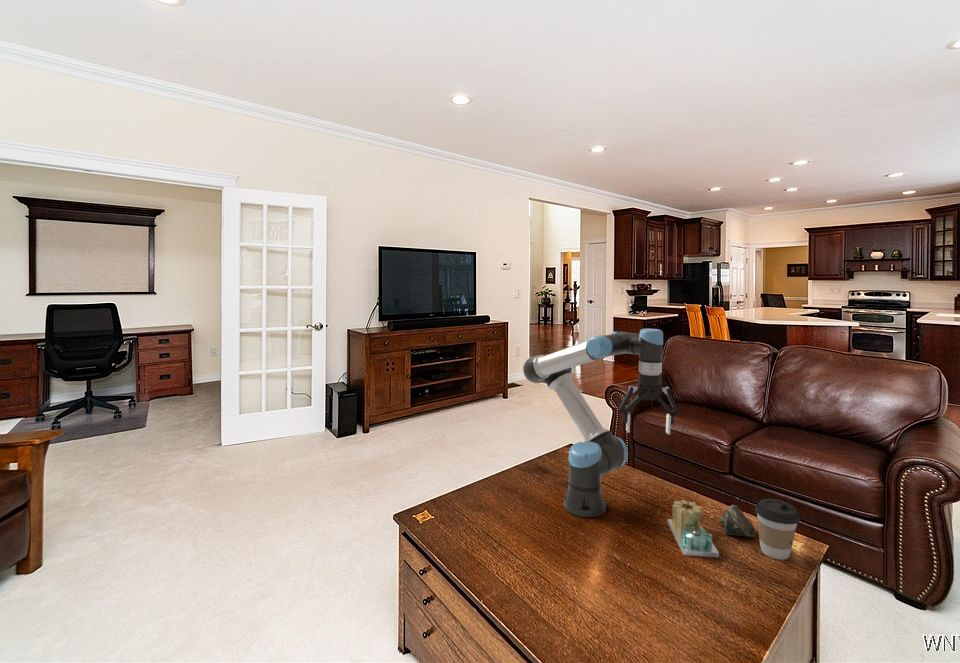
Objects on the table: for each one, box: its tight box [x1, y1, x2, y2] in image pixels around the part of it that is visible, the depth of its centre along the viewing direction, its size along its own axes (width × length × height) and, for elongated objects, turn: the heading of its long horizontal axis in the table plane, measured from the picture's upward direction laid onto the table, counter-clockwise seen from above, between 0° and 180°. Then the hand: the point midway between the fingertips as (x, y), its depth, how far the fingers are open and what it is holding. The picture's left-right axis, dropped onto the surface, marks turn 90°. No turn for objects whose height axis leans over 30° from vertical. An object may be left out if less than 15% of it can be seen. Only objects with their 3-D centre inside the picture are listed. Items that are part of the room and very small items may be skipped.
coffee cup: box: [754, 498, 801, 561], centre depth 132 cm, size 11×11×15 cm
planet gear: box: [671, 499, 703, 532], centre depth 144 cm, size 9×9×7 cm
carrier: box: [666, 518, 720, 559], centre depth 140 cm, size 10×18×6 cm, turn 171°
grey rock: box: [719, 504, 756, 539], centre depth 144 cm, size 11×9×10 cm
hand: (647, 432), depth 153 cm, fingers open, 13 cm apart
